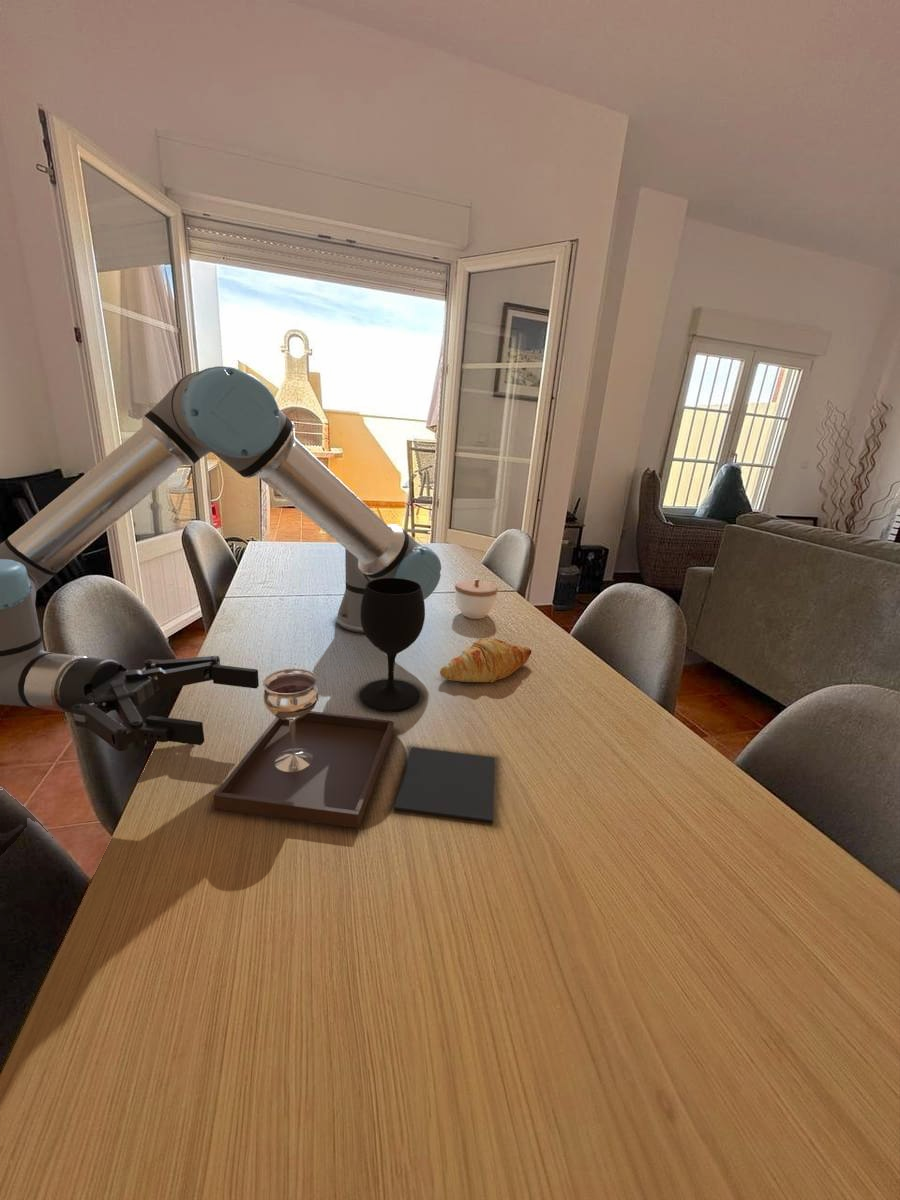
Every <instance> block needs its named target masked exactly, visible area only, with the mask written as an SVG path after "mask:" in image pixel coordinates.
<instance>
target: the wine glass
mask: <svg viewBox="0 0 900 1200" xmlns="http://www.w3.org/2000/svg"><path fill="white" fill-rule="evenodd" d="M360 617H361V624H362V628H363V631H364V633H363V634H364V635H365V636H366V638H367V640H368V641H369V642H370V643H371V644H372V645H373V646H374V647H375V648H376V649H378V650H379V651H380V652H383V654H385V655H386V658H387V679H379V680H374V681H371V682H370V683H368V684H366V685H365V686H363V688H362V689H361V690H360V693H359V700H360V702H361V703H362V704H363V705H364V706H366V707H367V708H369V709H371V710H374V711H377V712H382V713H383V712H384V713H398V712H402V711H406V710H408V709H411V708H413V707H414V706H416V705H417V704H418V703H419V701H420V698H421V693H420V691H419V689H418V687H416V686H415V685H414V684H412V683H410V682H408V681H405V680H400V679H394V678H395V663H396V658H397V655H398V654H400V653H401V652H404V651H405V650H406V649H408V648H410V646H412V645H413V644H414V643H415V641H416V640H417V639H418V638H419V636H420V635H421V632H422V630H423V627H424V623H425V619H426V605H425V600H424V597H423V593H422V589H421V586H420V585H419V584H418V583H416V582H414V581H411V580H407V579H400V578H382V579H376V580H372V581H370V582H368V583H367V585H366V588H365V591H364V594H363V598H362V603H361V611H360Z"/></svg>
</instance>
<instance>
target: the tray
mask: <svg viewBox="0 0 900 1200" xmlns="http://www.w3.org/2000/svg"><path fill="white" fill-rule="evenodd" d="M394 724H395V723H394V720H390V719H389V720H388V719H379V718H372V717H364V716H363V717H362V716H355V715H347V714H338V713H331V712H323V711H314V710H311V711H310V712H309V713H308V714H306V715H305V716H304V717H302V718H300V719H297V720H296V721H295V748H301V749H305V750H308V751H309V752H311V754H312V755H313V760H312V763H311V764H310V765H309V766H308V767H306V768H304V769H302V770H299V771H295V772H285V771H281V770H279V769H278V768H276V766H275V759H276V757H277V756H278V755H279V754H280V753H282V752H284V751H286V750H289V749H292V746H291V735H290V724H289V721H287V720H282V719H279V718H277V717H276V716H275V718H274V719H273V721H272V722H271V723H270V724H269V725H268V727H267V728H266V729H265V730H264V731H263V733H262V734H261V735H260V736H259V738H258V739H257V741H255V743H254V744H253V745H252V746H251V748H250V749H249V750H248V752H247V753H246V754H245V755H244V757H243V758H242V759H241V761H240V762H239V763H238V764H237V765H236V767H234V769H233V770H232V772H231V773H230V774H229V775H228V777H226V779H225V780H224V782H223V783H222V784H221V785H220V787H218V789H217V790H216V791H215V793H214V794H213V802H214V809H215V810H220V811H228V812H235V813H243V814H249V815H257V816H264V817H271V818H278V819H284V820H285V819H286V820H293V821H300V822H306V823H307V822H308V823H315V824H323V825H329V826H336V827H344V828H352V829H359V828H360V824H361V822H362V819H363V816H364V814H365V811H366V808H367V805H368V802H369V800H370V797H371V795H372V792H373V789H374V786H375V784H376V780H377V778H378V775H379V772H380V769H381V767H382V765H383V762H384V758H385V756H386V753H387V750H388V747H389V745H390V742H391V739H392V737H393V734H394V727H395V725H394Z"/></svg>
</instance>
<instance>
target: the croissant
mask: <svg viewBox="0 0 900 1200" xmlns="http://www.w3.org/2000/svg"><path fill="white" fill-rule="evenodd" d="M531 655H532V649H530V648H529V647H527V646H524V647H522V646H521V645H514V644H513V645H512V644H510V643H509V642H505V641H503V640H501V639H497V638H492V637H487V638H480V639H478V640H475V642H473V643H472V644H471V646H470V647H466V648H465V649H464V650H463V651H462V653H461V654H460V655H459V656H457V657H454V658H452V659H451V660H450V662H449V663H448V664H447V665H445V666H442V667H441V668H440V670H439V675H440V677H441V678H443V679H445V680H448V681H455V682H461V683H494V682H496V681H498V680H503V679H505V678H507V677H509V676H511V675H512V674H513V673H514V672H516V671H517V670H518V669H520V668H521V667H522V666H524V665H525V664H526V663H527V662H528V660H529V658H530V656H531Z"/></svg>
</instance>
